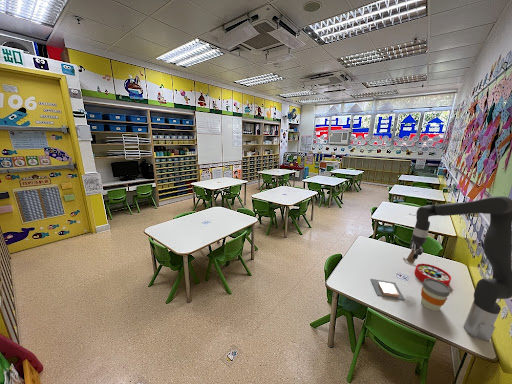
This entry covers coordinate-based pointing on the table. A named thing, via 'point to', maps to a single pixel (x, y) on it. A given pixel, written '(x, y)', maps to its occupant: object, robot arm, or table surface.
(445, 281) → the toy clock
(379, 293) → the mat
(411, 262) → the scraper
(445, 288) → the reusable coffee cup
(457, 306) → the table surface
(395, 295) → the tile
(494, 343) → the table surface
